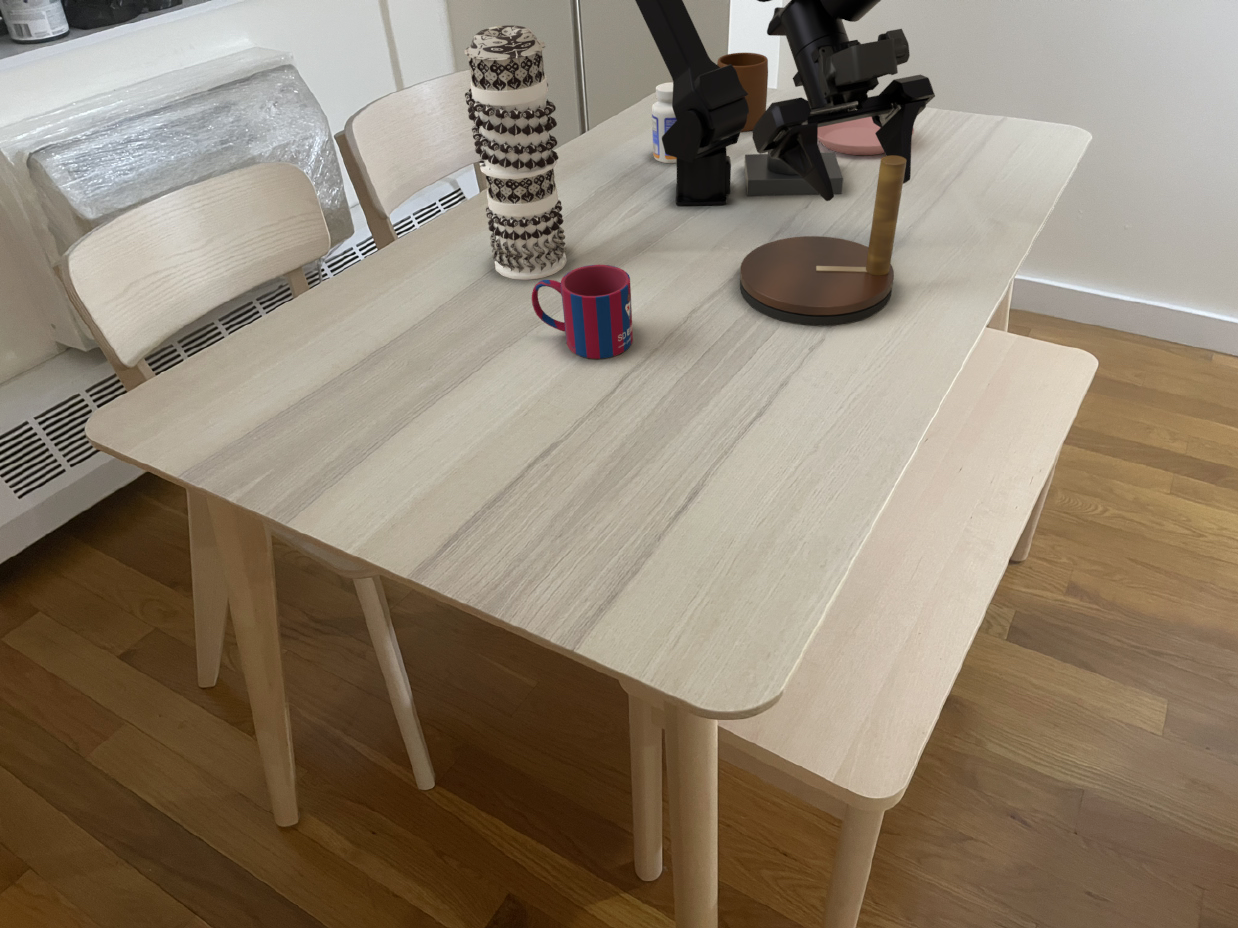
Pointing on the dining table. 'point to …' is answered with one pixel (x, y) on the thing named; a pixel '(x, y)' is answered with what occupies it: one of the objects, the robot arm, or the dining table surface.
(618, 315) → the cup
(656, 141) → the pill bottle
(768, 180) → the control block
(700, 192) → the robot arm
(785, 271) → the turntable
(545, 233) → the decorative candle
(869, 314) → the turntable base
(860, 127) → the plate
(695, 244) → the dining table surface
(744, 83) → the mug
